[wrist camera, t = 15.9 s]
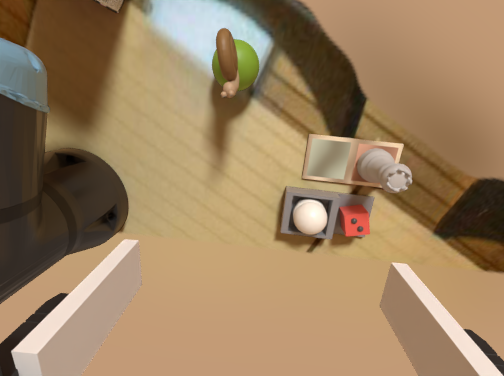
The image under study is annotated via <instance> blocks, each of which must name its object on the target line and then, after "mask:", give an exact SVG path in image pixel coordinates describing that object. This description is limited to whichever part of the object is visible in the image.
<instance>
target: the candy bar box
mask: <svg viewBox="0 0 504 376" xmlns="http://www.w3.org/2000/svg"><path fill="white" fill-rule="evenodd" d="M93 1H95V2H97V3H99V4H101V5H103V6H104V7H106V8H108V9H110V10H112V11H113V12H115V13H119V11H120V9H121V7H122V5H123V2H124V0H93Z"/></svg>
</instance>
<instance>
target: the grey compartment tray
mask: <svg viewBox="0 0 504 376" xmlns="http://www.w3.org/2000/svg"><path fill="white" fill-rule="evenodd" d="M303 197H310V198H317V199H318V200H320V201H321V203H322V204H323V206H324V208H325V210H326V213H327V224H326V226H325V228H324V229H323V230H322V231H321V232H319V233H317V234H313V235H309V234H305V233H302V232H301V231H299V230H298V229H297V227H296V226H295V224H294V220H293V212H292V211H293V206H294V204H295V203H296V202H297V201H298V200H299V199H301V198H303ZM373 201H374V197H371V196H363V195H355V194H346V193H338V192H330V191H321V190H313V189H304V188H296V187H288V186H286V190H285V197H284V204H283V211H282V218H281V233H286V234H294V235H302V236H309V237H317V238H325V239H332V236H333V233H335V234H343V235H345V236H346V237H347V236H358V237H365V235H366V234H370V230H369V217H370V213H371V209H372V205H373Z"/></svg>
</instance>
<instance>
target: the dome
mask: <svg viewBox="0 0 504 376" xmlns="http://www.w3.org/2000/svg"><path fill="white" fill-rule="evenodd" d="M292 212H293V220H294V224H295V226H296V227H297V229H298V230H299V231H301V232H302V233H305V234H309V235H313V234H317V233H319V232H321V231H322V230H323V229H324V228H325V226H326V224H327V213H326V210H325V208H324V206H323V204H322V203H321V201H320V200H318V199H317V198H310V197H303V198H301V199H299V200H298V201H297V202H296V203H295V204H294V206H293V211H292Z"/></svg>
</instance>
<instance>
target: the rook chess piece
mask: <svg viewBox="0 0 504 376" xmlns="http://www.w3.org/2000/svg"><path fill="white" fill-rule="evenodd" d="M357 170H358V173H359V175H360V176H361V177H362V178H363V179H365V180H366V181H368V182H371V183H380V184H381V186H382V188H383V189H384V190H385V191H387V192H390V193H397V192H398V193H399V192H401V191H405V190H407V189H408V188H407V187H408V186H409V184H412V174H411V171H410V169H409V168H408V167H407V166H405V165H403V164H397V163H395V161H394V158H393V157H392V156H391V154H390V153H388V152H387V151H385V150H383V149H378V148H374V149H370V150H368V151H366V152H365V153H363V154H362V155H361V157H360V158H359V160H358V164H357Z"/></svg>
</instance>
